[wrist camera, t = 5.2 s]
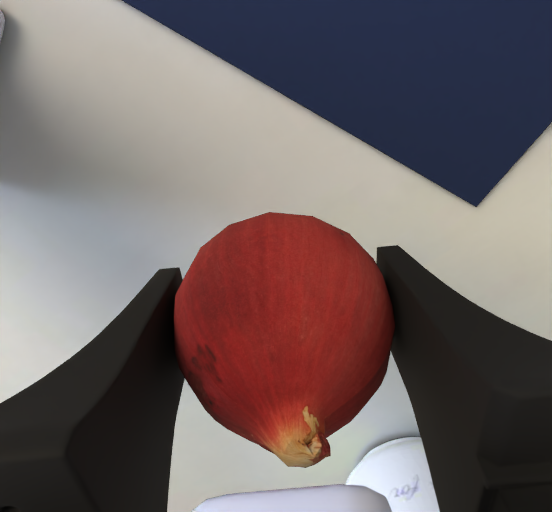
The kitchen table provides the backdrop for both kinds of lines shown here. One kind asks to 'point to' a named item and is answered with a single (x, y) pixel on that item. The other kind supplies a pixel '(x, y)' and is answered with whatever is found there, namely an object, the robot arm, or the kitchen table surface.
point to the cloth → (396, 72)
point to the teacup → (398, 475)
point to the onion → (284, 332)
